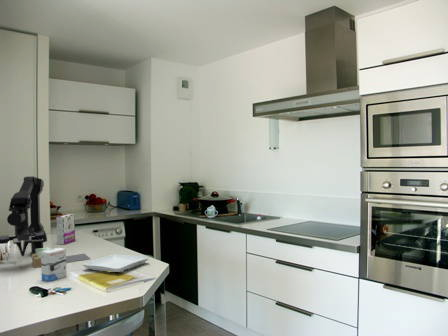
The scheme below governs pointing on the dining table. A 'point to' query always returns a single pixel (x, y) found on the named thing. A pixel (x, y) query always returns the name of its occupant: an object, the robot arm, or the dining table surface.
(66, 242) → the candy bar box
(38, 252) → the sage green tile
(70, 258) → the mat
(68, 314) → the dining table surface
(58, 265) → the ink box
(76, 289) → the dining table surface
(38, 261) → the deck
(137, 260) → the salad plate
